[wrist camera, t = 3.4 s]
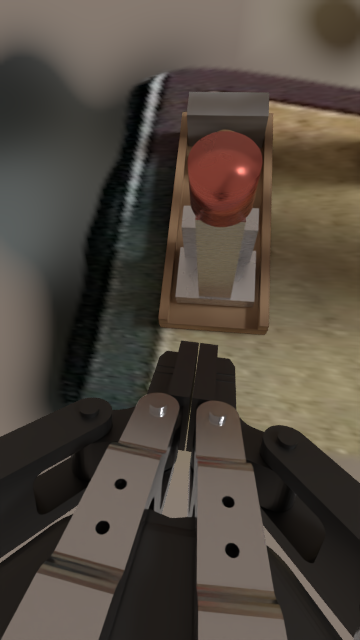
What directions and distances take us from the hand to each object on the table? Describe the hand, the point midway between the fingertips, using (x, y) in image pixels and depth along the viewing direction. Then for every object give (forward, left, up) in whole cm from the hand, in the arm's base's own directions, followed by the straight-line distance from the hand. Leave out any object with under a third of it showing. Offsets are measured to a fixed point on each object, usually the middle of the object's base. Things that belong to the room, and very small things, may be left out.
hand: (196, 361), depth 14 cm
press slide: (-5, -10, -16) cm, 20 cm away
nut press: (-8, -16, -18) cm, 26 cm away
